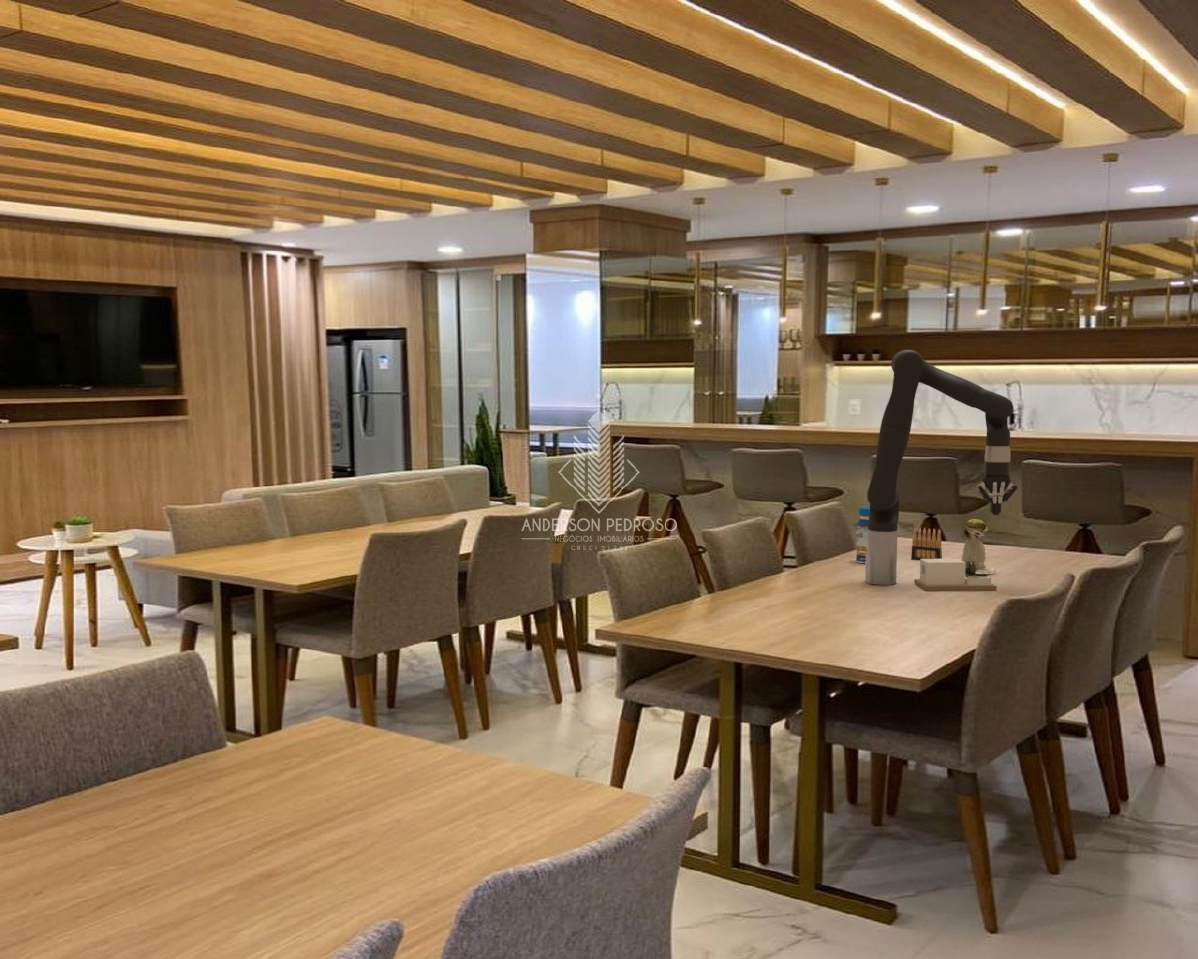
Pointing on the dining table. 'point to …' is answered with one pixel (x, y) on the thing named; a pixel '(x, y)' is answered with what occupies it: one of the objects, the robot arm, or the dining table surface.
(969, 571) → the plunger
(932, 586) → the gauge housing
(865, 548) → the beverage bottle
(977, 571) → the figurine
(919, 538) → the ammunition clip
